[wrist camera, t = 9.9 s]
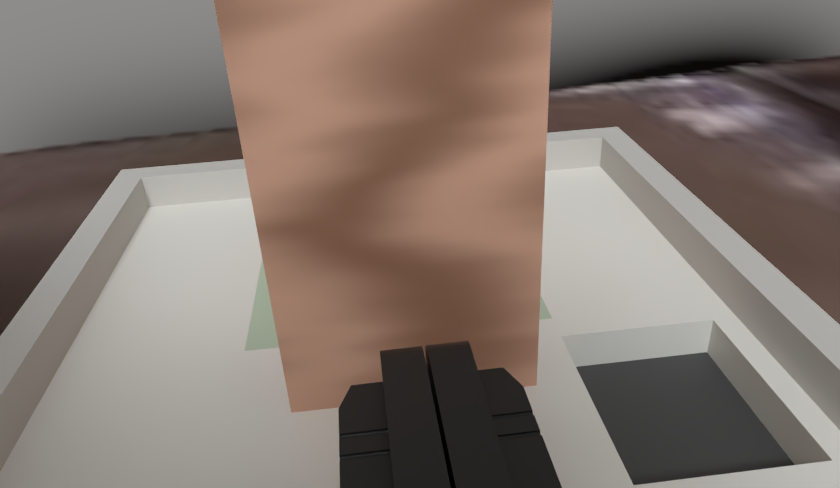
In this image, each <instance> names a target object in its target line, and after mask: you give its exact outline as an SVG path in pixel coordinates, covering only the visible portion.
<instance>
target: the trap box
mask: <svg viewBox="0 0 840 488" xmlns="http://www.w3.org/2000/svg"><path fill="white" fill-rule="evenodd" d="M524 389H525V392H526V395H527V397H528V400H529V402H530V405H531V408H532V410H533V415H534V416H535V418H536V421H537V423H538V426H539V429H540V434H541V435H542V437H543V439H544V442H545V444H546V447H547V450H548V452H549V455H550V458H551V460H552V463H553V465H554V468H555V471H556V473H557V476H558V478H559V481H560V484H561V486H562V488H840V325H839V324H838V323H837V322H836V321H835V320H834V319H833V318H831V317H830V316H829V315H828V314H827V313H826V312H825V311H824V310H822V309H821V308H820V307H819V306H818V305H817V304H816V303H815V302H813V301H812V300H811V299H810V298H809V297H808V296H807V295H806V294H805V293H803V292H802V291H801V290H800V289H799V288H798V287H797V286H796V285H794V284H793V283H792V282H791V281H790V280H789V279H788V278H787V277H785V276H784V275H783V274H782V273H781V272H780V271H779V270H778V269H776V268H775V267H774V266H773V265H772V264H771V263H770V262H769V261H768V260H766V259H765V258H764V257H763V256H762V255H761V254H760V253H759V252H757V251H756V250H755V249H754V248H753V247H752V246H751V245H750V244H748V243H747V242H746V241H745V240H744V239H743V238H742V237H741V236H739V235H738V234H737V233H736V232H735V231H734V230H733V229H732V228H731V227H729V226H728V225H727V224H726V223H725V222H724V221H723V220H722V219H720V218H719V217H718V216H717V215H716V214H715V213H714V212H713V211H711V210H710V209H709V208H708V207H707V206H706V205H705V204H704V203H702V202H701V201H700V200H699V199H698V198H697V197H696V196H695V195H694V194H692V193H691V192H690V191H689V190H688V189H687V188H686V187H685V186H683V185H682V184H681V183H680V182H679V181H678V180H677V179H676V178H674V177H673V176H672V175H671V174H670V173H669V172H668V171H667V170H666V169H664V168H663V167H662V166H661V165H660V164H659V163H658V162H657V161H655V160H654V159H653V158H652V157H651V156H650V155H649V154H648V153H646V152H645V151H644V150H643V149H642V148H641V147H640V146H639V145H637V144H636V143H635V142H634V141H633V140H632V139H631V138H630V137H629V136H627V135H626V134H625V133H624V132H623V131H622V130H621V129H620V128H618V127H610V128H598V129H586V130H575V131H563V132H552V133H547V145H546V170H545V194H544V218H543V243H542V267H541V292H540V316H539V340H538V365H537V385H535V386H526V387H524ZM339 461H340V457H339V407H338V408H329V409H320V410H311V411H302V412H293V413H291V408H290V403H289V398H288V392H287V387H286V382H285V376H284V371H283V366H282V360H281V355H280V350H279V344H278V339H277V334H276V328H275V323H274V318H273V312H272V307H271V302H270V296H269V291H268V286H267V280H266V275H265V270H264V264H263V259H262V254H261V248H260V243H259V238H258V232H257V227H256V222H255V216H254V211H253V206H252V200H251V195H250V190H249V184H248V179H247V174H246V168H245V163H244V159H241V160H229V161H218V162H206V163H194V164H183V165H171V166H160V167H148V168H137V169H125V170H121V171H120V172H119V174H118V175H117V177H116V178H115V179H114V181H113V182H112V183H111V185H110V186H109V187H108V189H107V190H106V192H105V193H104V194H103V196H102V197H101V198H100V200H99V201H98V203H97V204H96V205H95V207H94V208H93V209H92V211H91V212H90V214H89V215H88V216H87V218H86V219H85V220H84V222H83V223H82V225H81V226H80V227H79V229H78V230H77V231H76V233H75V234H74V236H73V237H72V238H71V240H70V241H69V242H68V244H67V245H66V247H65V248H64V249H63V251H62V252H61V253H60V255H59V256H58V258H57V259H56V260H55V262H54V263H53V264H52V266H51V267H50V269H49V270H48V271H47V273H46V274H45V275H44V277H43V278H42V280H41V281H40V282H39V284H38V285H37V286H36V288H35V289H34V291H33V292H32V293H31V295H30V296H29V297H28V299H27V300H26V302H25V303H24V304H23V306H22V307H21V308H20V310H19V311H18V313H17V314H16V315H15V317H14V318H13V319H12V321H11V322H10V324H9V325H8V326H7V328H6V329H5V330H4V332H3V333H2V335H1V336H0V488H340V467H339Z"/></svg>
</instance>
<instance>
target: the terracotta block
mask: <svg viewBox="0 0 840 488" xmlns="http://www.w3.org/2000/svg"><path fill="white" fill-rule="evenodd" d="M214 3H215V9H216V14H217V19H218V25H219V30H220V34H221V41H222V46H223V51H224V56H225V62H226V67H227V72H228V78H229V83H230V89H231V94H232V99H233V105H234V110H235V115H236V121H237V126H238V131H239V137H240V142H241V147H242V153H243V158H244V163H245V168H246V174H247V179H248V184H249V190H250V195H251V200H252V206H253V211H254V216H255V222H256V227H257V232H258V238H259V243H260V248H261V254H262V259H263V264H264V270H265V275H266V280H267V286H268V291H269V296H270V302H271V307H272V312H273V318H274V323H275V328H276V334H277V339H278V344H279V350H280V355H281V360H282V366H283V371H284V376H285V382H286V387H287V392H288V398H289V403H290V408H291V413H293V412H302V411H311V410H320V409H329V408H338V407H340V405H341V403H342V401H343V399H344V397H345V396H346V394H347V392H348V390H349V388H350V386H351V385H358V384H366V383H375V382H383V380H382V370H381V360H380V351H382V350H391V349H399V348H408V347H417V346H422V347H423V351H424V356H425V346H426V345H433V344H442V343H451V342H460V341H469V343H470V346H471V349H472V353H473V356H474V359H475V363H476V366H477V369H478V370H485V369H493V368H502V367H503V368H504V369H506V370H507V371H508V372H509V373H510V374H511V375H512V376H513V377H514V378H515V379H516V380H517V381H518V382H519V383H520V384H521V385H522V386H523V387H526V386H535V385H537V365H538V340H539V316H540V292H541V267H542V243H543V218H544V194H545V170H546V145H547V121H548V96H549V72H550V47H551V22H552V0H214ZM425 361H426V360H425Z"/></svg>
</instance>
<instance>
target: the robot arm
mask: <svg viewBox="0 0 840 488" xmlns="http://www.w3.org/2000/svg"><path fill="white" fill-rule="evenodd" d="M380 360H381V370H382V380H383V382H375V383H366V384H358V385H351V386H350V388H349V390H348V392H347V394H346V396H345V397H344V399H343V401H342V403H341V405H340V407H339V457H340V461H339V467H340V488H562V486H561V484H560V481H559V478H558V476H557V473H556V471H555V468H554V465H553V463H552V460H551V458H550V455H549V452H548V450H547V447H546V444H545V442H544V439H543V437H542V435H541V434H540V429H539V426H538V423H537V421H536V418H535V416H534V415H533V410H532V408H531V405H530V402H529V400H528V397H527V395H526V392H525V389H524V387H523V386H522V385H521V384H520V383H519V382H518V381H517V380H516V379H515V378H514V377H513V376H512V375H511V374H510V373H509V372H508V371H507V370H506V369H504V368H503V367H502V368H493V369H485V370H478V369H477V366H476V363H475V359H474V356H473V353H472V349H471V346H470V343H469V341H460V342H451V343H442V344H433V345H426V346H425V356H424V351H423V347H422V346H417V347H408V348H399V349H391V350H382V351H380ZM425 360H426V361H425Z"/></svg>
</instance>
